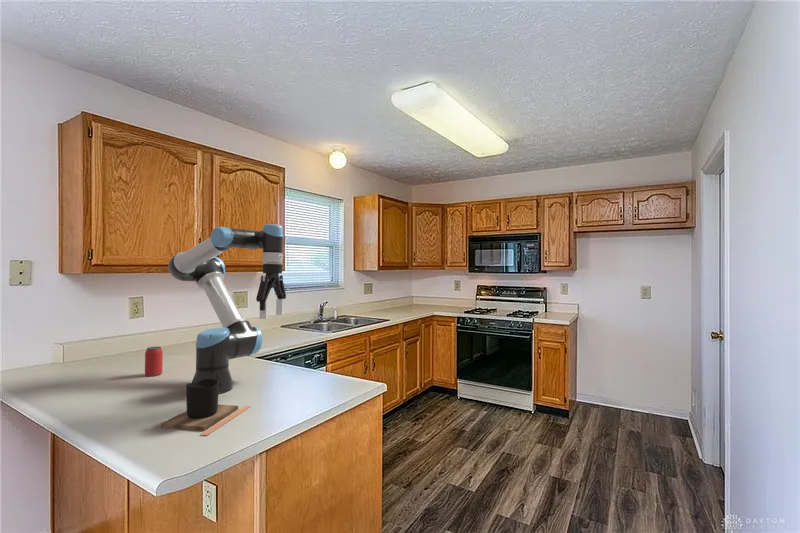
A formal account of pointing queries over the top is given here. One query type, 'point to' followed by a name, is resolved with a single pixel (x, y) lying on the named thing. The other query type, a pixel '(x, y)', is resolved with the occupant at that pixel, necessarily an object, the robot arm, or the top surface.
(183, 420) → the board
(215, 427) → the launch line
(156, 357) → the beer can
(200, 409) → the pen holder
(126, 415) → the top surface
